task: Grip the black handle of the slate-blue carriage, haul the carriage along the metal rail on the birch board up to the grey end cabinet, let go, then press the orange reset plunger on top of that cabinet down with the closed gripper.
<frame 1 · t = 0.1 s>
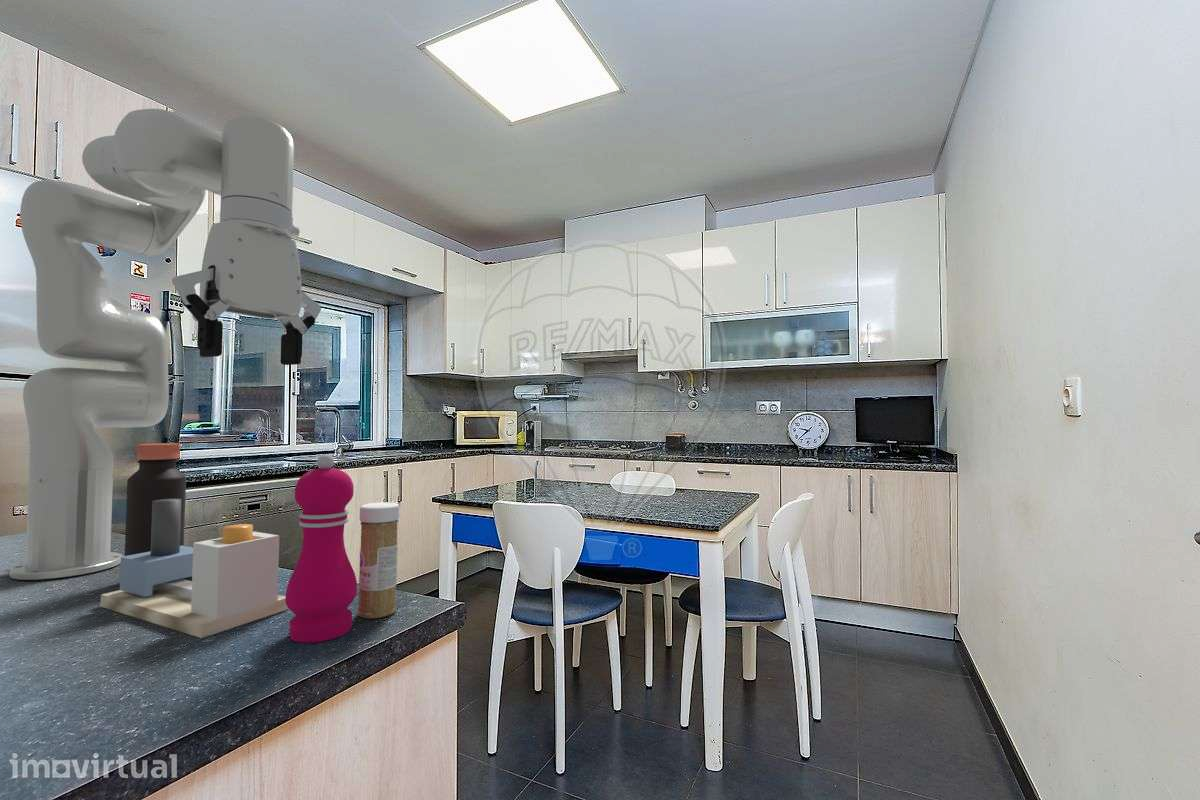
hand: (253, 360, 66), 31 cm above the counter, tool pointing down, fingers open, 9 cm apart
sprinkles bottle: (377, 614, 67), on the counter
pepper mill: (321, 633, 61), on the counter
rail base: (194, 607, 68), on the counter
carriage: (165, 542, 71), point 7 cm above the counter, slide at 0.0 cm
reset plunger: (237, 543, 65), point 9 cm above the counter, slide at 0.0 cm
vinegar: (153, 581, 79), on the counter
gauge cabinet: (235, 619, 64), resting on rail base
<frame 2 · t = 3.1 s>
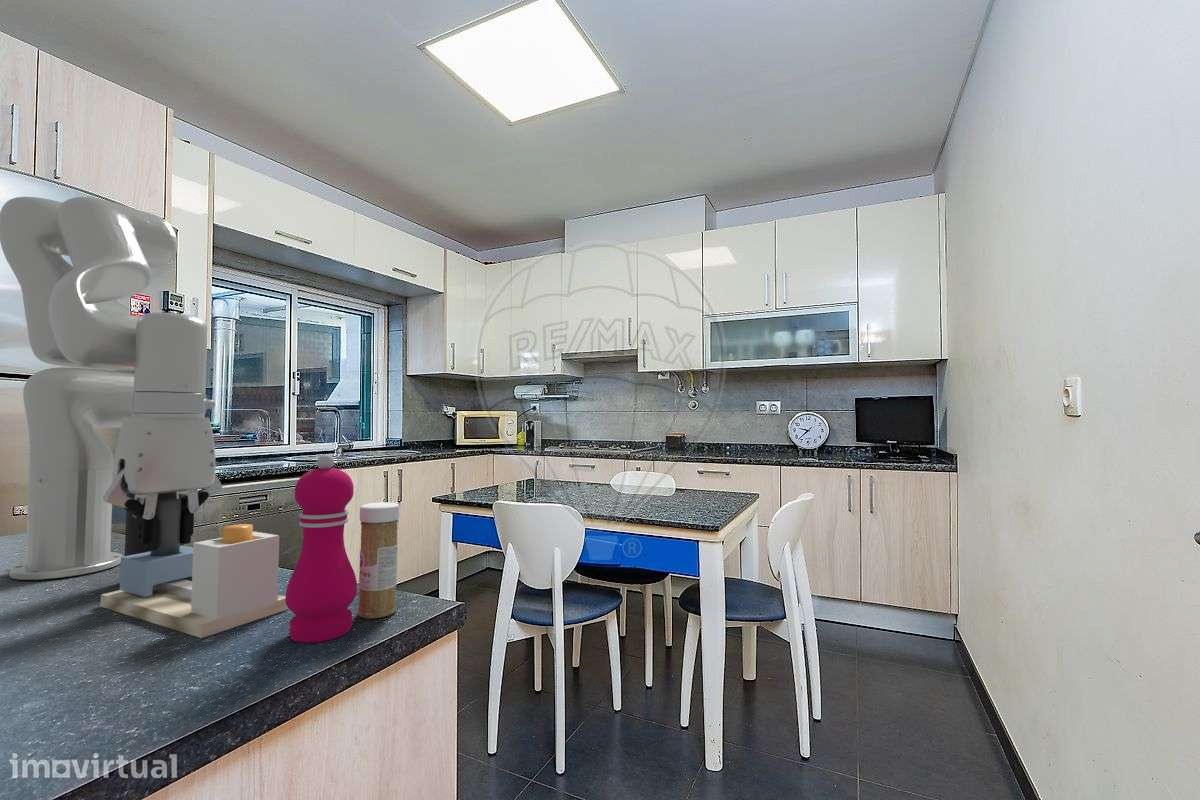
hand: (165, 544, 71), 7 cm above the counter, tool pointing down, fingers closed on carriage, 3 cm apart
carriage: (165, 542, 71), point 7 cm above the counter, slide at 0.0 cm, touching gripper
everything else where it was.
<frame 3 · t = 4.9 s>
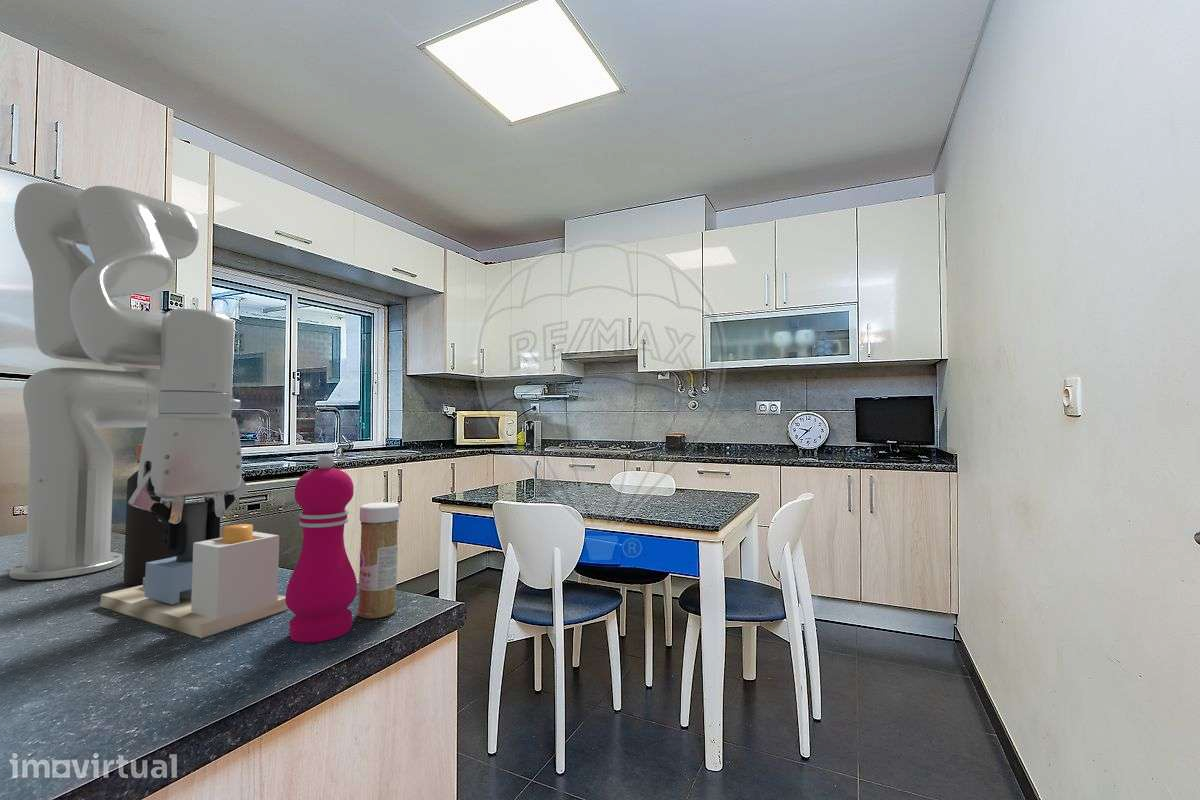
hand: (191, 549, 69), 7 cm above the counter, tool pointing down, fingers closed on carriage, 3 cm apart
carriage: (191, 547, 69), point 7 cm above the counter, slide at 6.0 cm, touching gripper
everything else where it was.
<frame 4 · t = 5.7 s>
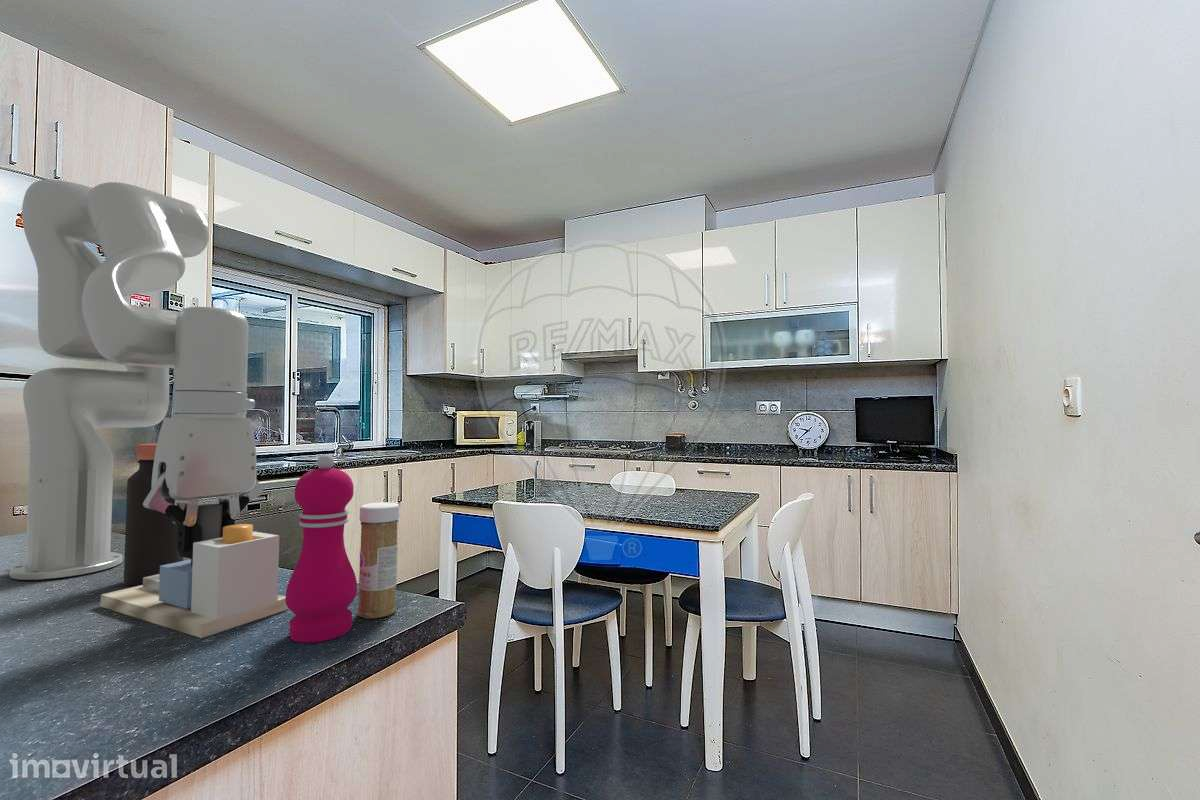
hand: (206, 552, 67), 7 cm above the counter, tool pointing down, fingers closed on carriage, 3 cm apart
carriage: (206, 550, 67), point 7 cm above the counter, slide at 9.2 cm, touching gripper
everything else where it was.
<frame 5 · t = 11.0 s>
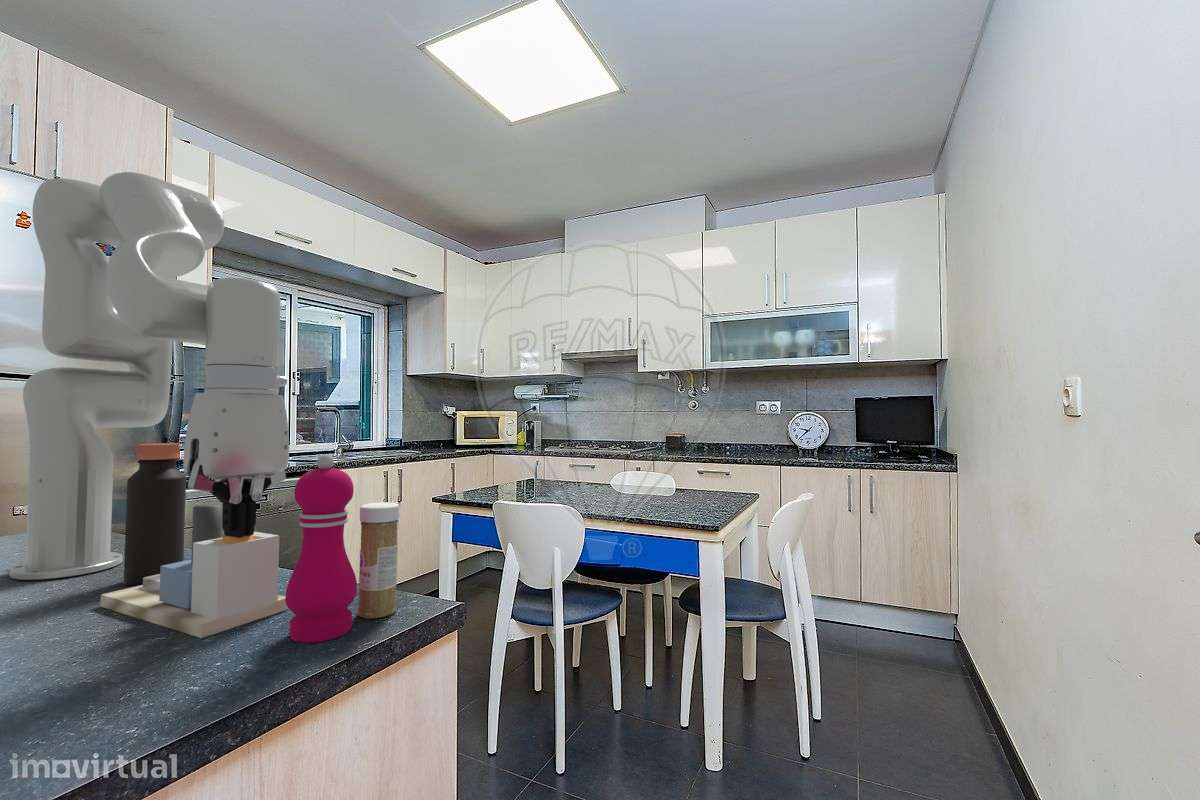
hand: (238, 535, 65), 10 cm above the counter, tool pointing down, fingers closed
carriage: (206, 550, 67), point 7 cm above the counter, slide at 9.3 cm
reset plunger: (237, 552, 65), point 8 cm above the counter, slide at 1.0 cm, touching gripper
everything else where it was.
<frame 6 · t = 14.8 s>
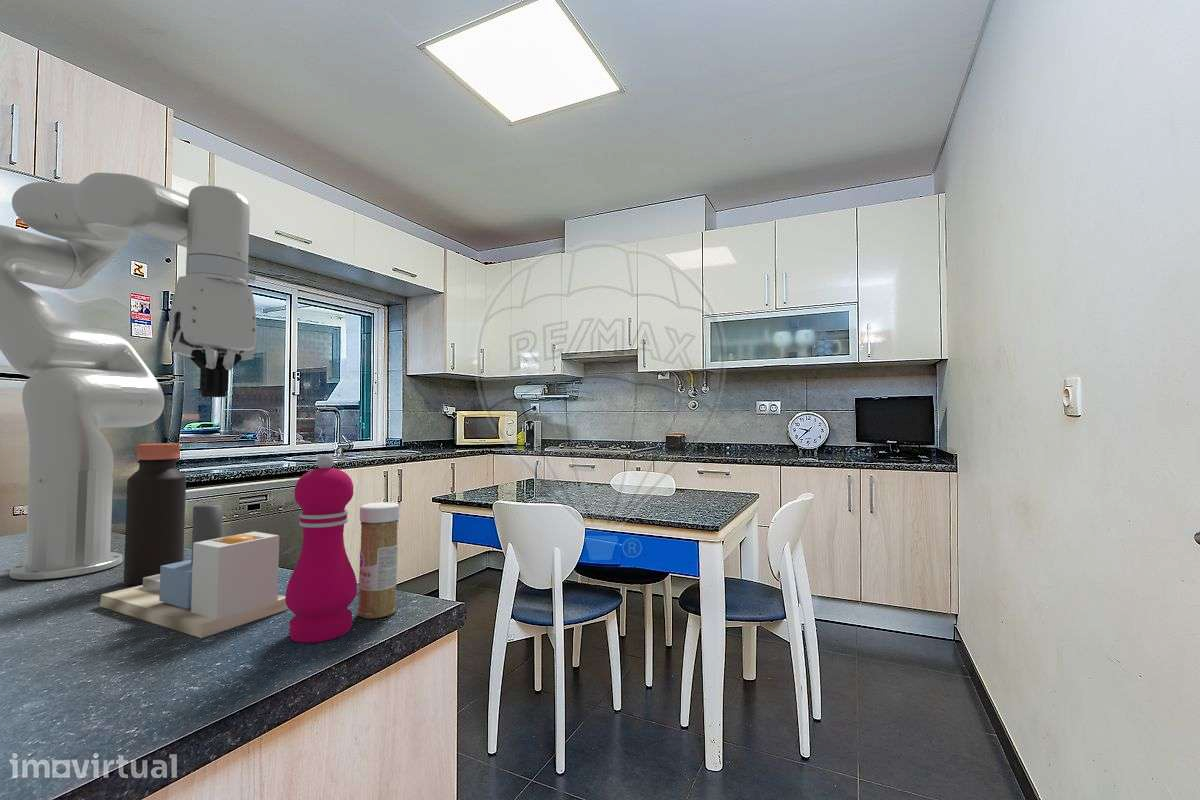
hand: (213, 396, 80), 27 cm above the counter, tool pointing down, fingers closed
reset plunger: (237, 554, 65), point 8 cm above the counter, slide at 1.3 cm
everything else where it was.
at the end: carriage slide at 9.3 cm; reset plunger slide at 1.3 cm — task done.
